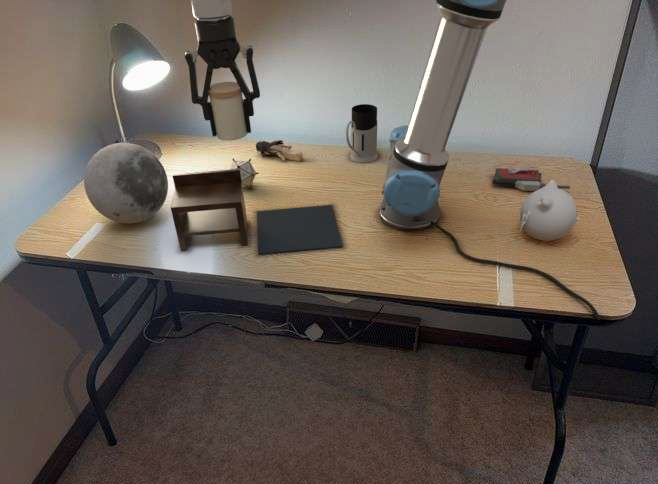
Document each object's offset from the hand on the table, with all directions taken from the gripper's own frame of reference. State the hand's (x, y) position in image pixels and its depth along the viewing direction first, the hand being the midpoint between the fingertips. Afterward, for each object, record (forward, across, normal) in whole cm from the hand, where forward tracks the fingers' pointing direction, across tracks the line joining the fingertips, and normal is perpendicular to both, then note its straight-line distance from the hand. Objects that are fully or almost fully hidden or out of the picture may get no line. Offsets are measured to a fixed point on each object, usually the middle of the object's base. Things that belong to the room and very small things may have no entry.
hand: (231, 132), depth 117 cm
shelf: (+26, +8, -1) cm, 28 cm away
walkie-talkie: (+28, -78, -12) cm, 83 cm away
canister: (+1, 0, 0) cm, 1 cm away
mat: (+27, -12, 0) cm, 29 cm away
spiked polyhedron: (+27, +1, -26) cm, 37 cm away
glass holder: (+27, -34, -37) cm, 57 cm away
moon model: (+26, +29, -14) cm, 42 cm away
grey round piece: (+28, -70, +13) cm, 77 cm away
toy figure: (+27, -10, -44) cm, 53 cm away
